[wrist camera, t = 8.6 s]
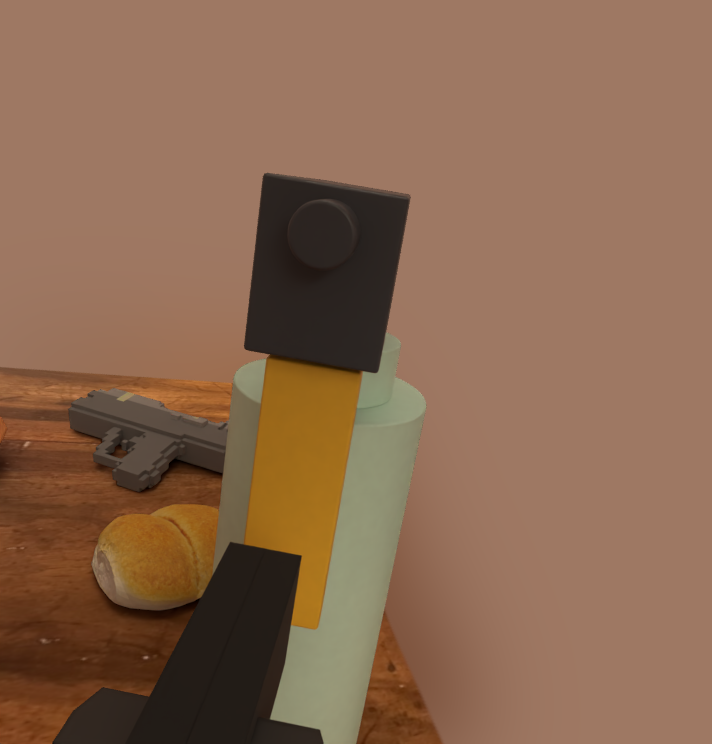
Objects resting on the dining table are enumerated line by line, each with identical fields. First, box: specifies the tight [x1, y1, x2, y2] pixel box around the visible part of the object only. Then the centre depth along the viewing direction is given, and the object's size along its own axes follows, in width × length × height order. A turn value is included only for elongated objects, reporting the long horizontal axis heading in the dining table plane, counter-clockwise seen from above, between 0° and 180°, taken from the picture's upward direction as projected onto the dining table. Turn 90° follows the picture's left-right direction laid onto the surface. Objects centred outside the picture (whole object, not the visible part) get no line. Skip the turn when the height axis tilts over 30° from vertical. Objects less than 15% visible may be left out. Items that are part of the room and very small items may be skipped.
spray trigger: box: [244, 354, 363, 630], centre depth 17 cm, size 1×2×8 cm, turn 85°
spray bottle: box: [212, 173, 426, 744], centre depth 21 cm, size 12×7×25 cm, turn 175°
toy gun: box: [68, 388, 229, 492], centre depth 52 cm, size 4×16×10 cm
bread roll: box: [91, 504, 219, 610], centre depth 38 cm, size 8×9×4 cm
